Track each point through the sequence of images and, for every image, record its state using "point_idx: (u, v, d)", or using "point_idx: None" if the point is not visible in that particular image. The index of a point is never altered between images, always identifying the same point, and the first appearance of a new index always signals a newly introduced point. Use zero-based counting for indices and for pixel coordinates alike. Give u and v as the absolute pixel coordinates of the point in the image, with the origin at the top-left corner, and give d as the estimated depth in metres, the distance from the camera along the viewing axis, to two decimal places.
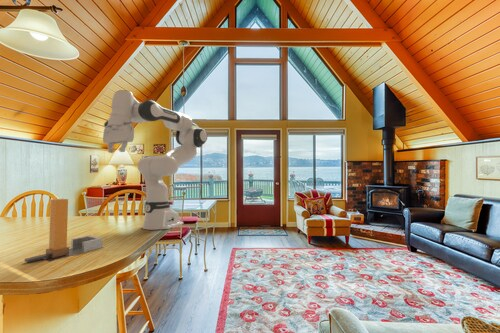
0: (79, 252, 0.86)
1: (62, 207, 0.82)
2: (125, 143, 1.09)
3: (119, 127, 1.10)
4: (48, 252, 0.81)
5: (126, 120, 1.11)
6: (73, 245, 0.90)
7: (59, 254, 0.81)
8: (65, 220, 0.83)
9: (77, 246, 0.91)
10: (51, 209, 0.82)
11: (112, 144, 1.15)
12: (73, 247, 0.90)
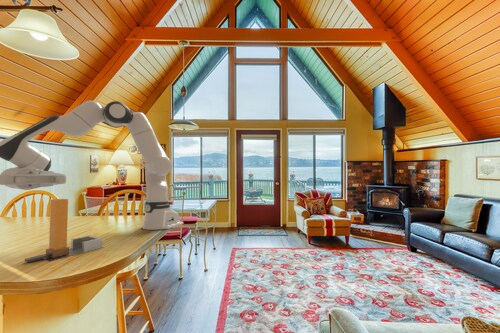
0: (79, 252, 0.86)
1: (62, 207, 0.82)
2: (15, 179, 0.86)
3: None
4: (48, 252, 0.81)
5: None
6: (73, 245, 0.90)
7: (59, 254, 0.81)
8: (65, 220, 0.83)
9: (77, 246, 0.91)
10: (51, 209, 0.82)
11: (54, 178, 0.96)
12: (73, 247, 0.90)
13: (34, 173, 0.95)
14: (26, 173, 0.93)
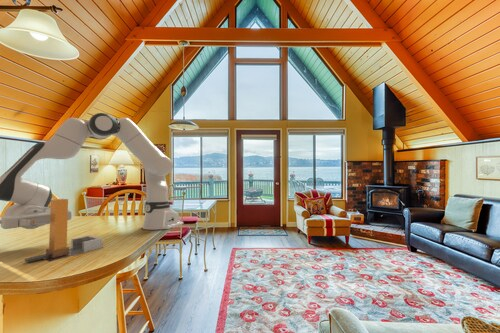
0: (79, 252, 0.86)
1: (62, 207, 0.82)
2: (19, 222, 0.83)
3: None
4: (48, 252, 0.81)
5: None
6: (73, 245, 0.90)
7: (59, 254, 0.81)
8: (65, 220, 0.83)
9: (77, 246, 0.91)
10: (51, 209, 0.82)
11: None
12: (73, 247, 0.90)
13: (39, 211, 0.93)
14: (31, 212, 0.90)
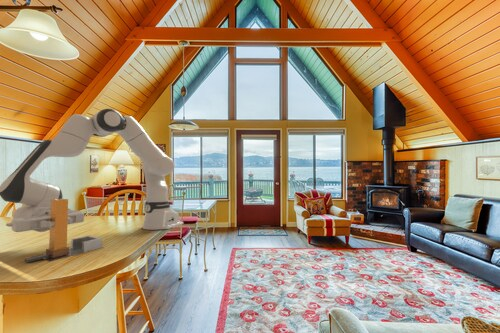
0: (79, 252, 0.86)
1: (62, 207, 0.82)
2: (40, 223, 0.80)
3: None
4: (48, 252, 0.81)
5: None
6: (73, 245, 0.90)
7: (59, 254, 0.81)
8: (65, 220, 0.83)
9: (77, 246, 0.91)
10: (51, 209, 0.82)
11: None
12: (73, 247, 0.90)
13: None
14: (42, 214, 0.86)
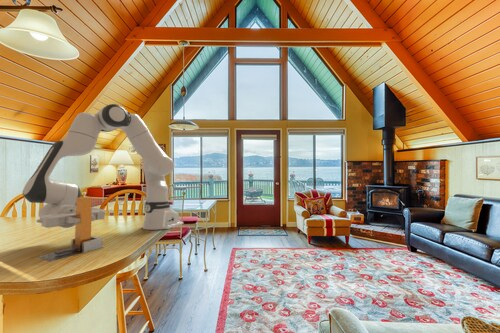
0: (79, 252, 0.86)
1: (87, 204, 0.89)
2: (67, 220, 0.87)
3: None
4: (74, 246, 0.88)
5: None
6: None
7: None
8: (89, 216, 0.90)
9: None
10: (77, 206, 0.89)
11: None
12: None
13: (74, 210, 0.95)
14: (67, 211, 0.93)
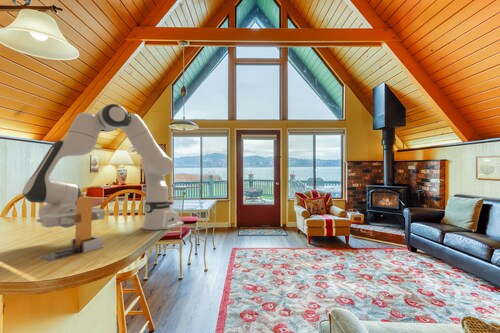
0: (79, 252, 0.86)
1: (87, 204, 0.89)
2: (60, 220, 0.85)
3: None
4: (75, 246, 0.88)
5: None
6: None
7: None
8: (90, 216, 0.90)
9: None
10: (77, 206, 0.89)
11: (94, 214, 0.96)
12: None
13: (74, 210, 0.95)
14: (67, 211, 0.93)
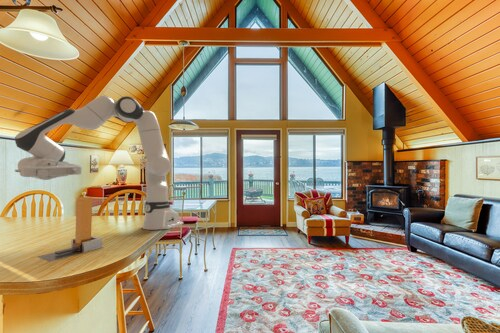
0: (79, 252, 0.86)
1: (87, 204, 0.89)
2: (37, 172, 0.92)
3: None
4: (75, 246, 0.88)
5: None
6: None
7: None
8: (90, 216, 0.90)
9: None
10: (77, 206, 0.89)
11: (71, 169, 1.03)
12: None
13: (52, 164, 1.02)
14: (45, 165, 1.00)
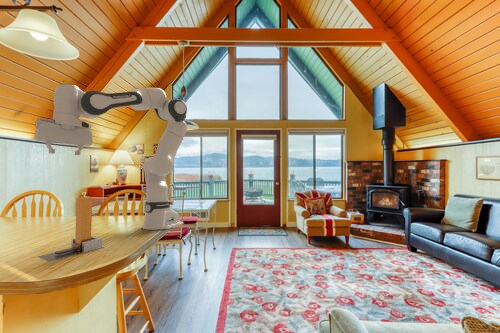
0: (79, 252, 0.86)
1: (87, 204, 0.89)
2: (46, 143, 0.96)
3: None
4: (75, 246, 0.88)
5: (54, 117, 0.98)
6: None
7: None
8: (90, 216, 0.90)
9: None
10: (77, 206, 0.89)
11: (79, 145, 1.06)
12: None
13: (71, 130, 1.02)
14: (64, 129, 1.00)
